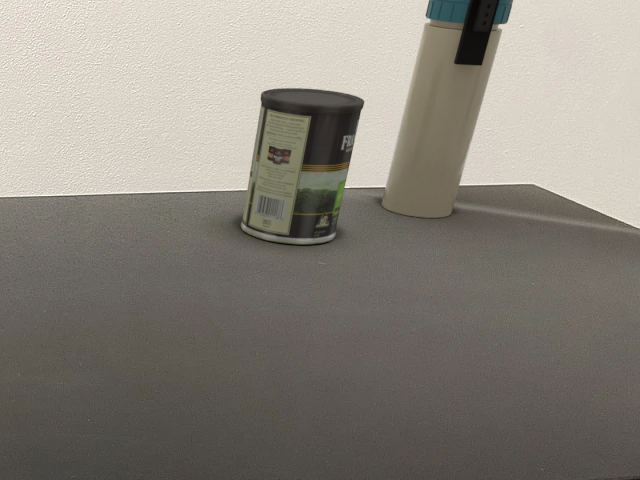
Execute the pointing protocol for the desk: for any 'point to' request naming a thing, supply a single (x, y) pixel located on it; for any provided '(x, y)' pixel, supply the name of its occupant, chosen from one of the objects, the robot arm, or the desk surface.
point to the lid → (463, 11)
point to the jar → (437, 123)
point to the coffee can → (300, 164)
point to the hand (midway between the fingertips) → (455, 58)
